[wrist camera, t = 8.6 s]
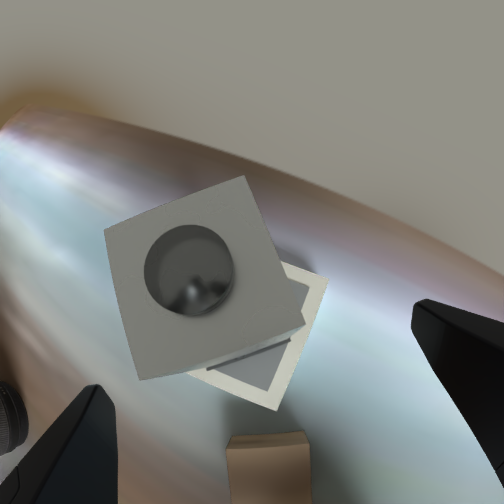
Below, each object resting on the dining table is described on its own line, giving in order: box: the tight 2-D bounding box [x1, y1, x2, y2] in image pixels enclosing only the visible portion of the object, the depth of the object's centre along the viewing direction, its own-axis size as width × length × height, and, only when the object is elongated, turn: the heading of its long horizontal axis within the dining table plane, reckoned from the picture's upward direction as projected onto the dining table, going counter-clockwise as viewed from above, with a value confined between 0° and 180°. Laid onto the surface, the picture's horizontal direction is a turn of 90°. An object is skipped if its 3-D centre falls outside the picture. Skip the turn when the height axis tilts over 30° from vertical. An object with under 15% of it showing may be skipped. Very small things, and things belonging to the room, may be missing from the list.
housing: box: [104, 175, 306, 380], centre depth 13 cm, size 5×5×12 cm
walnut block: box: [226, 430, 312, 504], centre depth 17 cm, size 5×5×4 cm
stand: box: [185, 261, 329, 411], centre depth 20 cm, size 9×9×3 cm
